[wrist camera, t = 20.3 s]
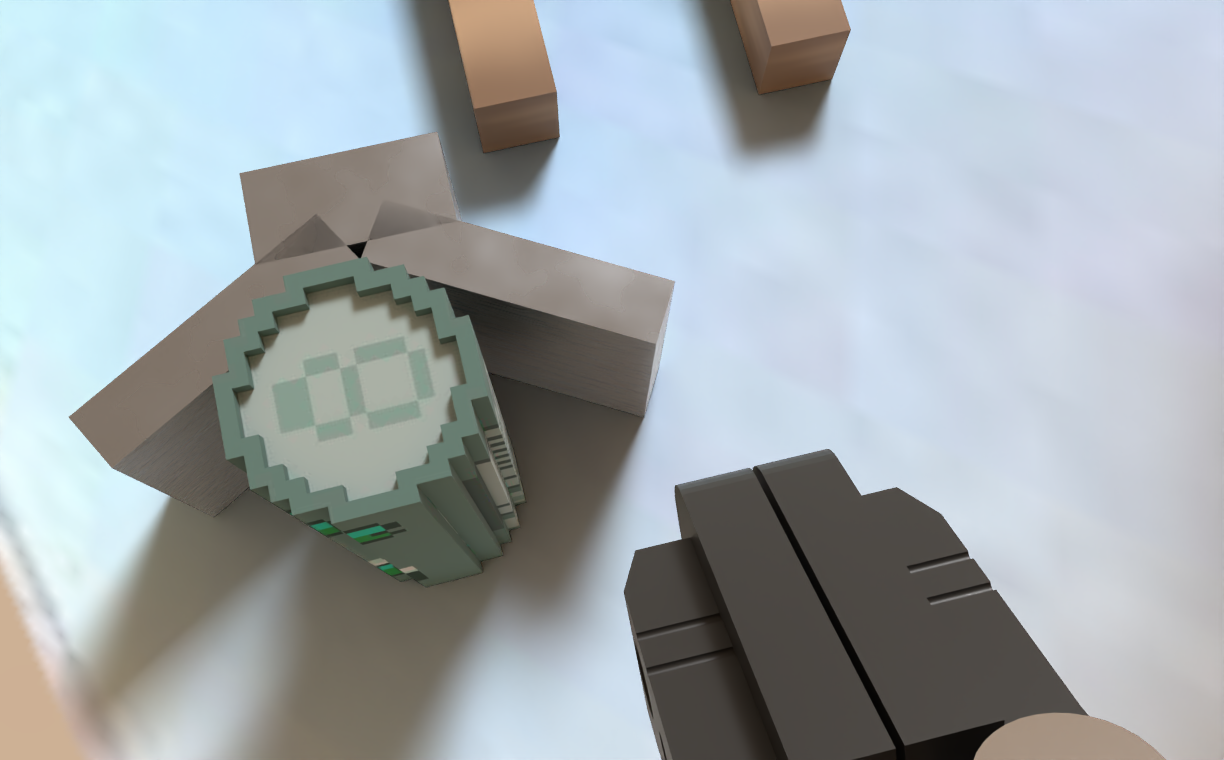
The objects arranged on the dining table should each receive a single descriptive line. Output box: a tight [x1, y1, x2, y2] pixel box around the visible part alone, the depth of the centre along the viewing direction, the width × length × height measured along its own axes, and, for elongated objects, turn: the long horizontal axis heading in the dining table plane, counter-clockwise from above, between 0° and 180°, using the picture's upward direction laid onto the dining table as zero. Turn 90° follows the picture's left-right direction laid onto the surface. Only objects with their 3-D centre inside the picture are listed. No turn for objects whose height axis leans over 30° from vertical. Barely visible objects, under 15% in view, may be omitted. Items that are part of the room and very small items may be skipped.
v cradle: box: [69, 132, 675, 517], centre depth 38 cm, size 8×18×9 cm, turn 104°
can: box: [212, 257, 526, 587], centre depth 34 cm, size 6×6×15 cm
